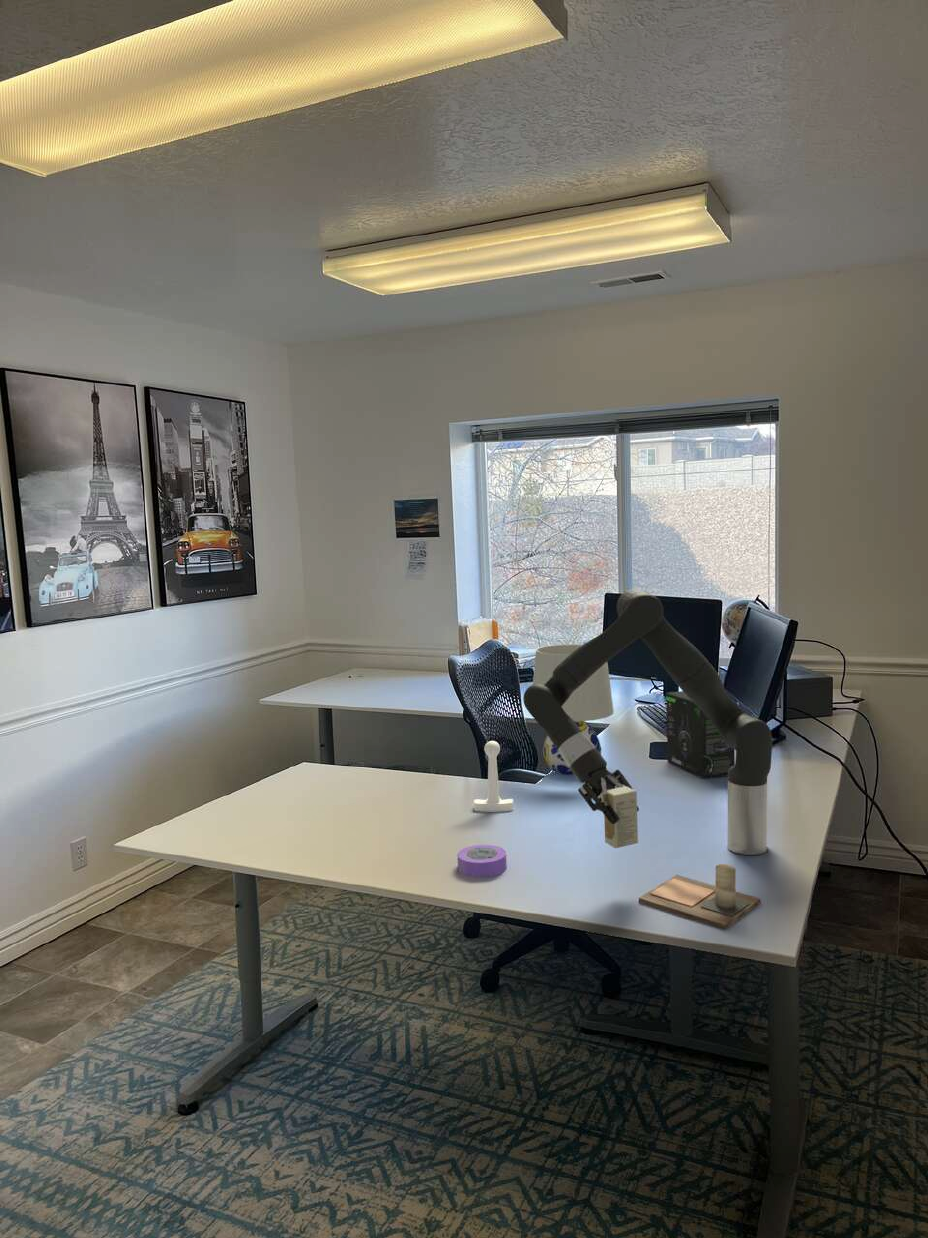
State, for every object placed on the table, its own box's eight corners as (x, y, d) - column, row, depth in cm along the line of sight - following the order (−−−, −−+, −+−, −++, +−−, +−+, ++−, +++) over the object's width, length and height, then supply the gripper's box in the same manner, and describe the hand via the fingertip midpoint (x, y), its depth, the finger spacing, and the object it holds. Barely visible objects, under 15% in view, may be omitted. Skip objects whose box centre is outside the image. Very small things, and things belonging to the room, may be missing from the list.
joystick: (474, 812, 252) (472, 743, 250) (475, 803, 260) (473, 736, 257) (513, 811, 251) (511, 742, 249) (513, 803, 259) (511, 736, 257)
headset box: (665, 761, 297) (665, 686, 294) (696, 758, 301) (697, 683, 298) (702, 780, 276) (703, 698, 273) (736, 775, 279) (736, 695, 276)
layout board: (676, 879, 202) (676, 839, 201) (760, 903, 188) (761, 861, 187) (638, 902, 190) (638, 860, 189) (725, 930, 177) (725, 885, 175)
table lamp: (612, 782, 275) (611, 655, 271) (526, 780, 281) (523, 655, 276) (615, 759, 302) (614, 643, 297) (536, 757, 307) (534, 643, 303)
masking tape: (447, 869, 212) (447, 854, 211) (481, 855, 220) (481, 840, 220) (482, 882, 204) (482, 866, 203) (516, 867, 212) (516, 852, 211)
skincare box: (627, 837, 200) (627, 785, 199) (638, 844, 196) (638, 790, 195) (603, 842, 198) (602, 789, 196) (614, 849, 194) (613, 795, 192)
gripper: (572, 754, 194) (618, 817, 188) (609, 741, 205) (654, 799, 198) (553, 774, 199) (598, 835, 192) (591, 759, 209) (634, 817, 202)
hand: (626, 817), depth 195 cm, fingers closed on skincare box, 7 cm apart
